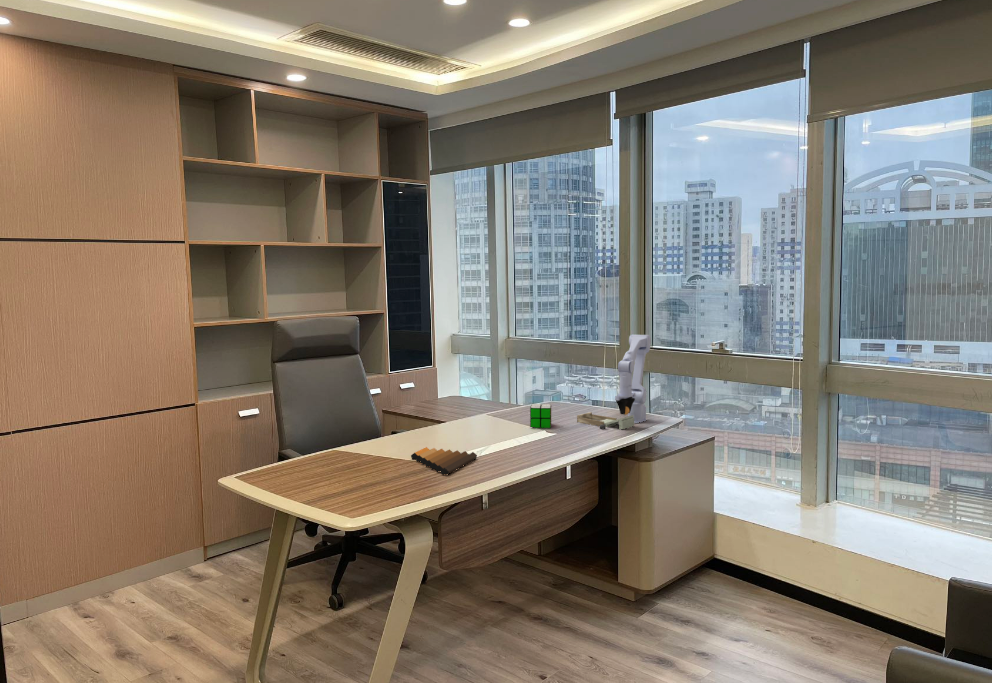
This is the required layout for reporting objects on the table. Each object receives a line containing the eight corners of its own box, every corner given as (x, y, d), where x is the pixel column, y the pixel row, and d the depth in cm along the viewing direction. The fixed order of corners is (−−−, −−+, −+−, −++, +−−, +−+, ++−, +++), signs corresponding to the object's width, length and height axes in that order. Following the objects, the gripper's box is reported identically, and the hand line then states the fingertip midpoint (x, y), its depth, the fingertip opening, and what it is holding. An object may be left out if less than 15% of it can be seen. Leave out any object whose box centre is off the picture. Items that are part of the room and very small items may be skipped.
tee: (601, 427, 340) (601, 424, 340) (606, 428, 338) (606, 425, 338) (598, 428, 338) (598, 425, 338) (603, 429, 336) (603, 426, 336)
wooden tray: (590, 418, 361) (590, 412, 361) (616, 423, 350) (616, 416, 350) (577, 422, 353) (577, 415, 353) (603, 426, 342) (603, 419, 342)
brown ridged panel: (448, 477, 262) (477, 460, 284) (448, 468, 261) (477, 452, 284) (391, 469, 271) (423, 454, 294) (390, 461, 271) (422, 446, 294)
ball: (623, 413, 342) (624, 405, 342) (631, 414, 340) (631, 406, 339) (619, 414, 339) (619, 406, 339) (626, 415, 337) (626, 407, 336)
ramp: (607, 421, 353) (607, 410, 353) (633, 426, 343) (634, 415, 342) (595, 425, 346) (595, 413, 346) (622, 429, 335) (622, 418, 335)
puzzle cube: (551, 424, 350) (551, 404, 349) (550, 428, 340) (550, 408, 339) (531, 423, 351) (531, 404, 350) (530, 428, 341) (530, 407, 340)
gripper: (626, 382, 346) (626, 410, 347) (609, 386, 336) (609, 414, 337) (639, 384, 341) (638, 412, 343) (622, 387, 331) (622, 416, 332)
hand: (625, 413), depth 339 cm, fingers closed on ball, 4 cm apart
